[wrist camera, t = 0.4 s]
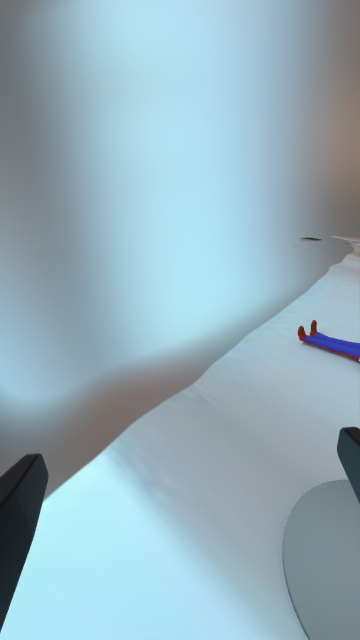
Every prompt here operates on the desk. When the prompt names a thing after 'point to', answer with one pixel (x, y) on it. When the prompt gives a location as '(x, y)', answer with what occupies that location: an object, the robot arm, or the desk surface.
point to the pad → (325, 561)
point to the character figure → (329, 342)
